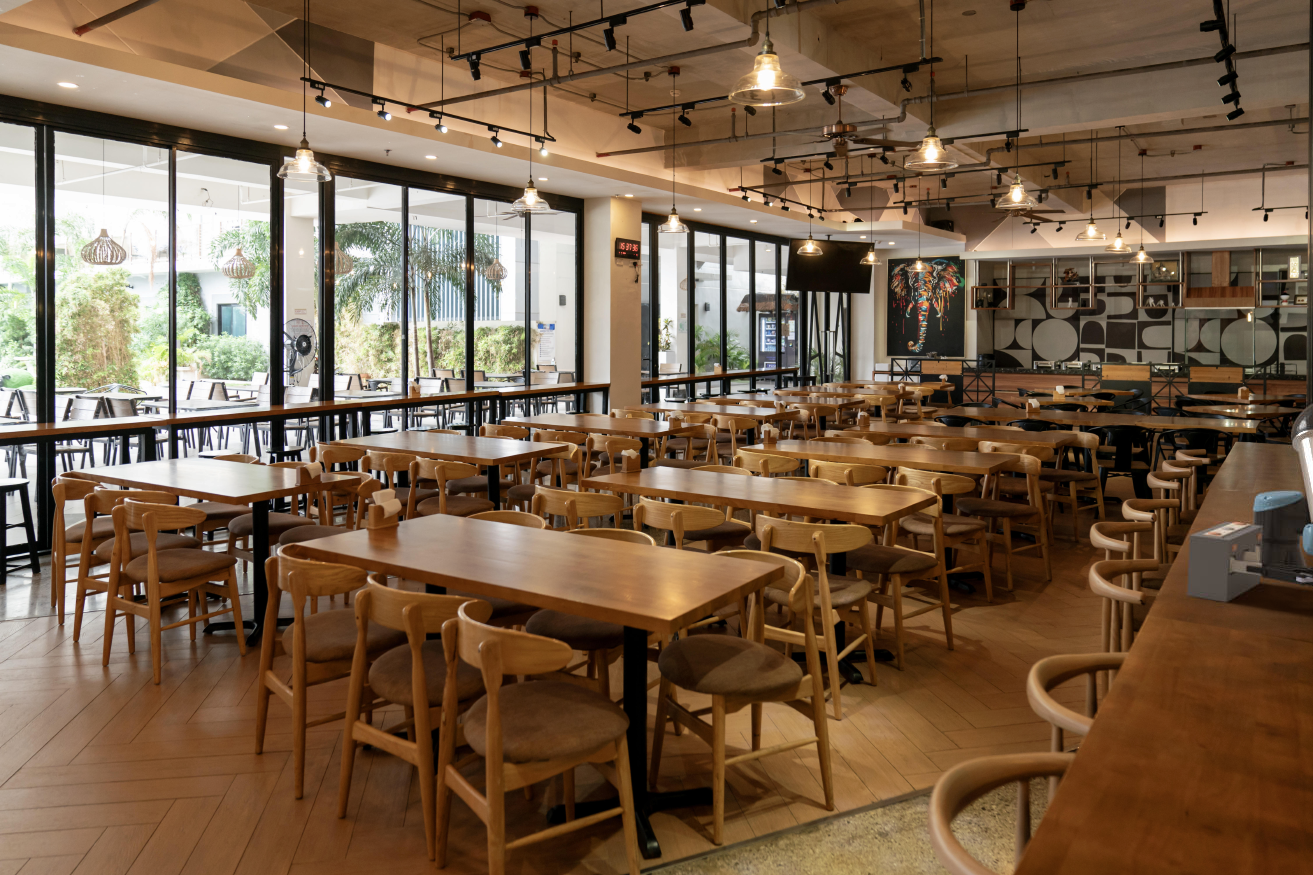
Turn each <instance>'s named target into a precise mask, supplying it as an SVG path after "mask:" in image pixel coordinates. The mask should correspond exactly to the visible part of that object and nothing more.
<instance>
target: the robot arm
mask: <svg viewBox="0 0 1313 875" xmlns="http://www.w3.org/2000/svg"><path fill="white" fill-rule="evenodd" d="M1290 437H1291V438H1290V439H1291V444H1292V448H1293V449H1294V450H1295V451H1296V452H1297V453H1298V457H1299V461H1300V462H1299V463H1300V467H1301V472H1302V477H1303V482H1304V488H1305V490H1304V491H1305V494H1306V496H1304V493H1302V491H1297V490H1276V491H1275V490H1273V491H1266V492H1261V493H1259V494H1257V495H1256V496H1255V498H1254V503H1253V508H1252V511H1253V517H1252V518H1253V519H1252V520H1253V521H1252V523H1253V524H1252V525H1258V526H1263V535H1262V555H1261V564H1260V563H1253V562H1246V561H1238V560H1233V561H1232V571H1234V572H1241V573H1248V574H1255V575H1260V576H1261V577H1262V578H1264V579H1270V580H1275V581H1280V582H1284V583H1285V582H1287V583H1292V584H1296V585H1300V586H1310V587H1313V566H1307V564H1306V561H1305V558H1304V554H1303V551H1302V549H1301V537H1302V546H1303V550H1304V552H1305V553H1306V554H1307V555H1310V556H1313V403H1311V404H1310V405H1308V406H1307V407H1305V409H1303V410H1302V412H1301V413H1299V415H1298V416H1297V418H1296V419H1295V421H1294V423H1293V425H1292V428H1291V434H1290Z"/></svg>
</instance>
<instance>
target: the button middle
mask: <svg viewBox="0 0 1313 875" xmlns="http://www.w3.org/2000/svg"><path fill="white" fill-rule="evenodd" d="M1243 561H1246V562H1253V563H1260V555H1259V553H1255V552H1247V551H1243Z"/></svg>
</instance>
